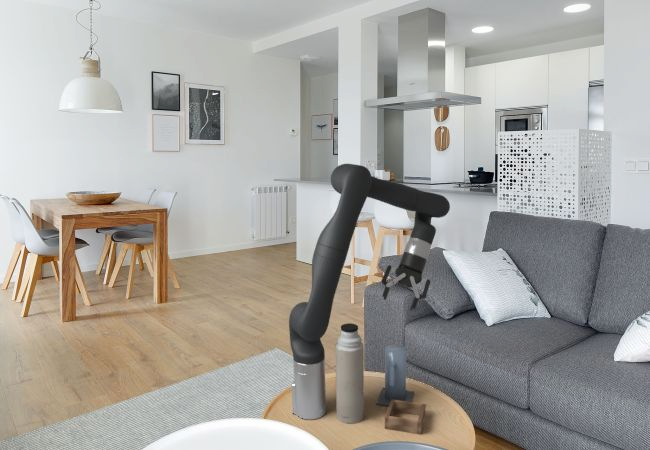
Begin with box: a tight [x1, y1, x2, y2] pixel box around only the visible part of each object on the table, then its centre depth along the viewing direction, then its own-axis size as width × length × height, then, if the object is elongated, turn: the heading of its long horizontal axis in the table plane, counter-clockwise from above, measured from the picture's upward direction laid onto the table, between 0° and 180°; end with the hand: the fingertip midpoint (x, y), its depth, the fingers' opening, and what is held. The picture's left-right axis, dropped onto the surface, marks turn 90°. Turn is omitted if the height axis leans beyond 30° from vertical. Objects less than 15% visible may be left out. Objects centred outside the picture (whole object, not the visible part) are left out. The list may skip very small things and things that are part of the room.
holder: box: [384, 399, 427, 435], centre depth 148 cm, size 10×10×4 cm
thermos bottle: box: [335, 322, 365, 424], centre depth 149 cm, size 8×8×28 cm
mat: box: [375, 386, 415, 408], centre depth 161 cm, size 10×10×1 cm
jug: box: [384, 343, 407, 401], centre depth 158 cm, size 6×9×16 cm
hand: (397, 304), depth 159 cm, fingers open, 8 cm apart
